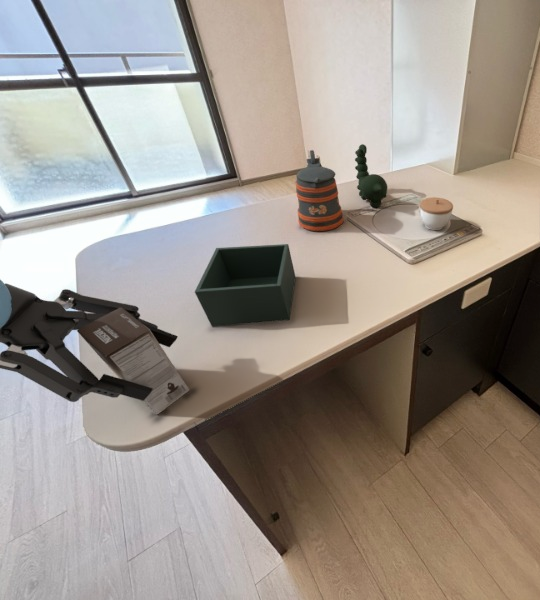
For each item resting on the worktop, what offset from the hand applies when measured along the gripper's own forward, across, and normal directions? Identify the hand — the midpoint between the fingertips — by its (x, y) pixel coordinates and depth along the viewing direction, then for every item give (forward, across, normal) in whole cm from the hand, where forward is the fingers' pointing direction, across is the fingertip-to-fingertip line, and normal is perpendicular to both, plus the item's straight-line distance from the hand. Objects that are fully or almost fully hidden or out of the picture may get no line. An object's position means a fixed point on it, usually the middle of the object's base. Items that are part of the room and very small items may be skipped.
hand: (162, 366), depth 55 cm
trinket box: (+49, -56, +39) cm, 84 cm away
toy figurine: (+35, -79, +25) cm, 90 cm away
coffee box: (+3, 0, -7) cm, 7 cm away
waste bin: (+12, -24, +2) cm, 27 cm away
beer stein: (+22, -65, +12) cm, 70 cm away
